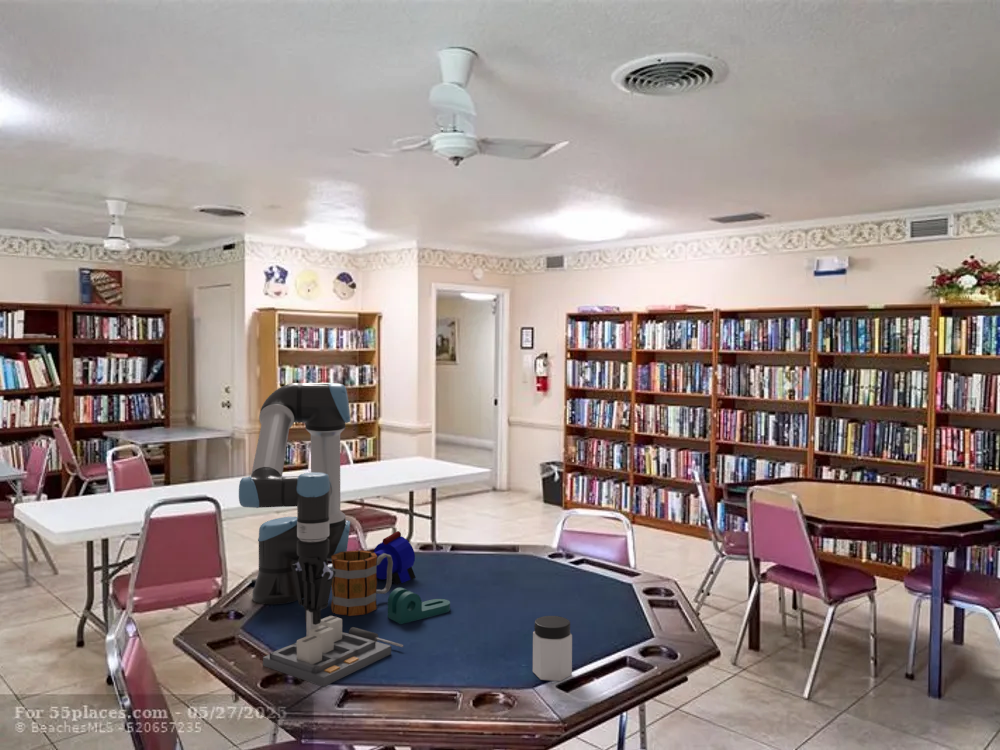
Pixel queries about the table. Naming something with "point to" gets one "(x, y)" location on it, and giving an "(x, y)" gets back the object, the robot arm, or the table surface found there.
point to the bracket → (413, 606)
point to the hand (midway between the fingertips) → (312, 636)
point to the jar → (552, 648)
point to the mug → (357, 582)
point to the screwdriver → (370, 636)
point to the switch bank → (329, 660)
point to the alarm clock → (396, 558)
